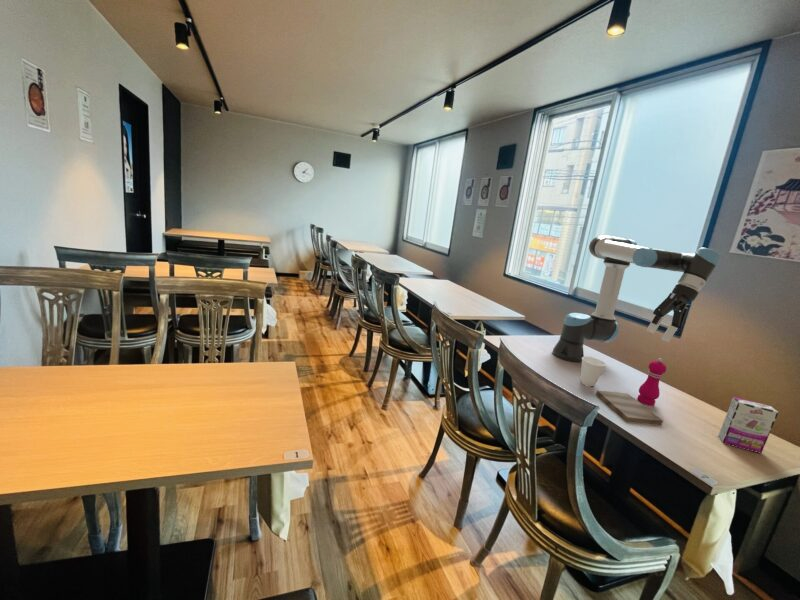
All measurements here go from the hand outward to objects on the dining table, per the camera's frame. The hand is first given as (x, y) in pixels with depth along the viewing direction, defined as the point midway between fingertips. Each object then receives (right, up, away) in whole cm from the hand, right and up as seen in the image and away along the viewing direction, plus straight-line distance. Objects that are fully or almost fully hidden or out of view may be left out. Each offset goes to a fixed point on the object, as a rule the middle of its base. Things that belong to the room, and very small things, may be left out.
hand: (657, 336), depth 142 cm
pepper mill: (+3, -29, +12) cm, 32 cm away
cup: (-16, -23, +22) cm, 36 cm away
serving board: (-10, -29, +3) cm, 31 cm away
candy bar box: (+21, -38, -12) cm, 44 cm away
